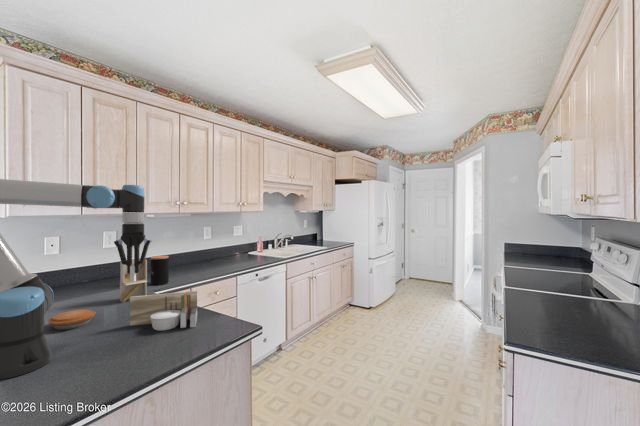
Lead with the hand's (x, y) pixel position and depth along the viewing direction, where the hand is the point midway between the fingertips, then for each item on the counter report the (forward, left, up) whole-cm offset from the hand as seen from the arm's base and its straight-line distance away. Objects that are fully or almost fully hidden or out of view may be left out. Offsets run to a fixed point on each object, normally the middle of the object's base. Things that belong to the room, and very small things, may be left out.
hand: (133, 281), depth 119 cm
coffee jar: (+82, +4, -20) cm, 85 cm away
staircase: (+47, +11, -20) cm, 53 cm away
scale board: (+6, -11, -20) cm, 23 cm away
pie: (+15, +26, -20) cm, 36 cm away
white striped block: (-1, -23, -20) cm, 30 cm away
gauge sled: (-1, -19, -20) cm, 27 cm away
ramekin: (-1, -12, -20) cm, 23 cm away
